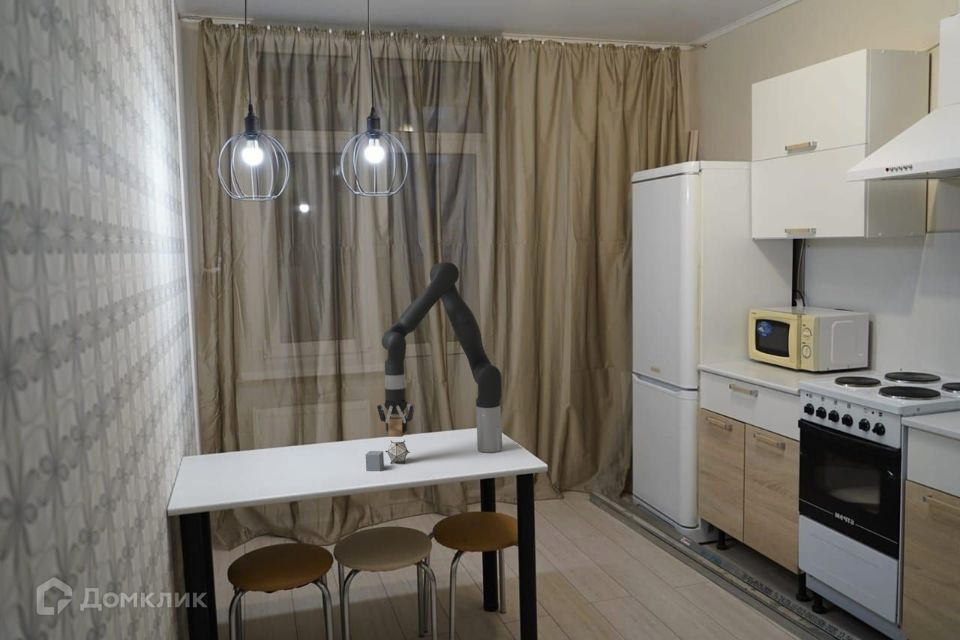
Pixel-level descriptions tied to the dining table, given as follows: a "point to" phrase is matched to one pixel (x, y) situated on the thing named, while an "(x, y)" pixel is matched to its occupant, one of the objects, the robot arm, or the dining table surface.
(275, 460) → the dining table surface
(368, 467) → the slate block
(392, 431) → the walnut block
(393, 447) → the game die
